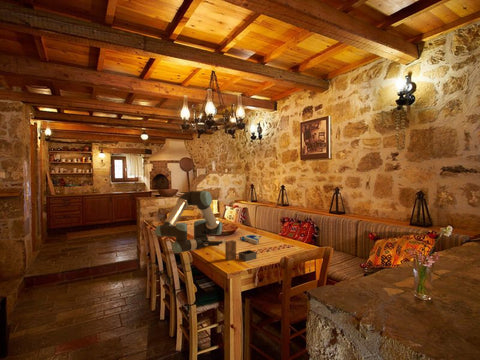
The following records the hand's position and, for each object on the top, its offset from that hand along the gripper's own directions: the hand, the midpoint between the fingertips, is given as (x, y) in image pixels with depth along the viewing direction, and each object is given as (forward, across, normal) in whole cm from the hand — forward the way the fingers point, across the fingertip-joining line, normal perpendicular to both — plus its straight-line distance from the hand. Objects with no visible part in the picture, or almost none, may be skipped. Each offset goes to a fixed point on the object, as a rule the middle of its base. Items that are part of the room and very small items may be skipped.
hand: (220, 239), depth 197 cm
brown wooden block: (+10, 0, -17) cm, 20 cm away
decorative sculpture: (+60, -33, -17) cm, 71 cm away
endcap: (+21, +7, -17) cm, 28 cm away
